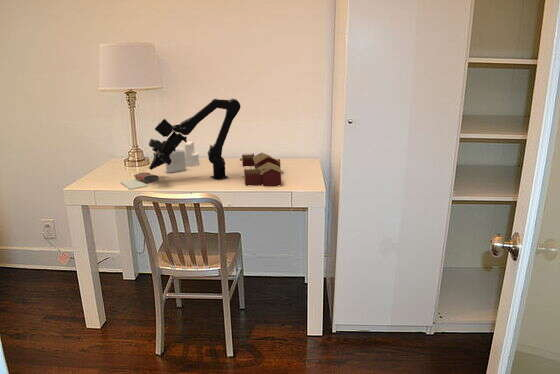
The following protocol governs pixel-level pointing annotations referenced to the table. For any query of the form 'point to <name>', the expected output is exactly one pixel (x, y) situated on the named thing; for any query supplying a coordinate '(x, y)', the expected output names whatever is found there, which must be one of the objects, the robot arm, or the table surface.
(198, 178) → the table surface
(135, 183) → the mat
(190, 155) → the base with upright slab
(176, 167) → the photo printer
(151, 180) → the lighter
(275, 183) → the toy houses
